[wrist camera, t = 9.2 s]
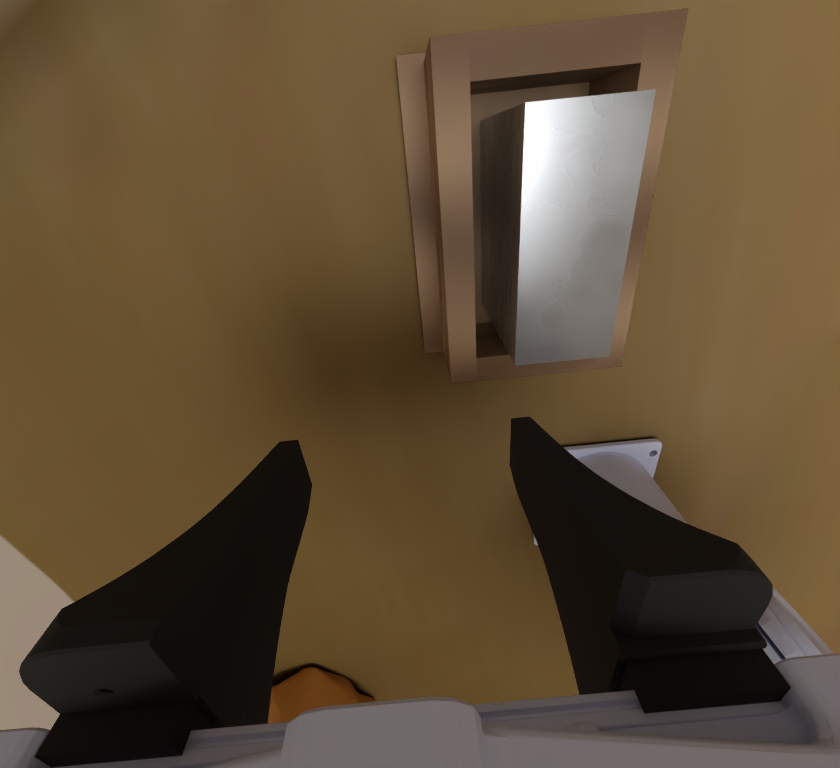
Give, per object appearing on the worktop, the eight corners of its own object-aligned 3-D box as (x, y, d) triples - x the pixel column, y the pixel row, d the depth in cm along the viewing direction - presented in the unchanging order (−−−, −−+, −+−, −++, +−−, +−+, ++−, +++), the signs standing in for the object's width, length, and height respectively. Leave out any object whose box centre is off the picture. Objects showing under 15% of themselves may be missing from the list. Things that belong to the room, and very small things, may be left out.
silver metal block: (548, 296, 21) (609, 356, 15) (481, 303, 21) (514, 365, 15) (563, 111, 17) (656, 89, 11) (480, 120, 17) (525, 102, 11)
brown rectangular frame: (600, 332, 22) (642, 369, 18) (424, 350, 22) (429, 391, 19) (645, 30, 16) (725, -9, 12) (396, 58, 16) (394, 27, 12)
